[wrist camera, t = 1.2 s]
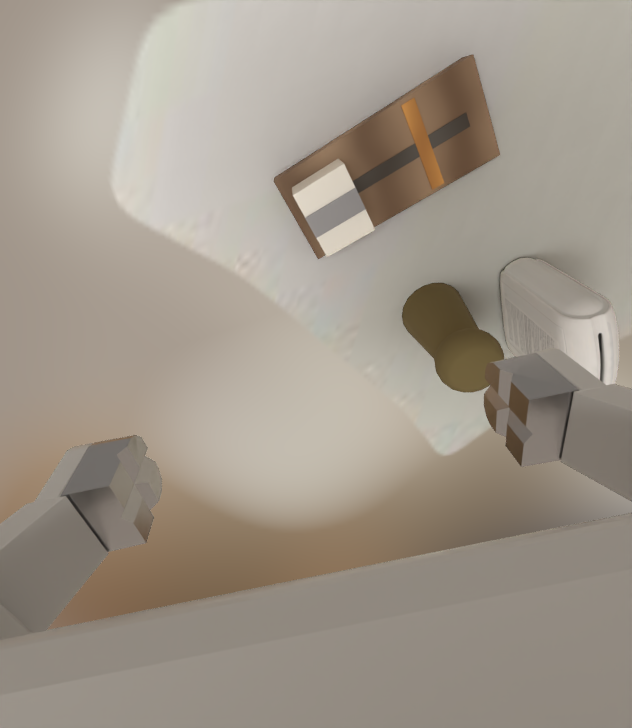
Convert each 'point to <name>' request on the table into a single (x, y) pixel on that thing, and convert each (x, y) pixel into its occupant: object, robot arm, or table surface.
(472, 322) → the cork
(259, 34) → the table surface
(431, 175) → the slider board
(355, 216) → the fader tab
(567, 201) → the table surface
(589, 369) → the photo printer
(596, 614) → the robot arm
